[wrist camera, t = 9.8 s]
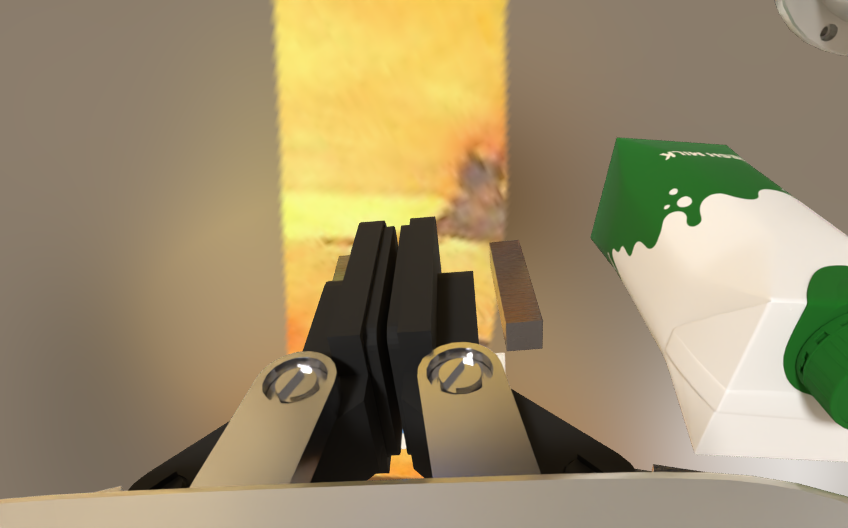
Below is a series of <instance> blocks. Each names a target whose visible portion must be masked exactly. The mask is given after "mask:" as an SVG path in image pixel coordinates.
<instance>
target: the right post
mask: <svg viewBox="0 0 848 528" xmlns="http://www.w3.org/2000/svg"><path fill="white" fill-rule="evenodd" d="M490 263H491V271H492V277H493V282H494V287H495V292H496V297H497V303H498V308H499V313H500V318H501V323H502V328H503V334H504V339H505V344H506V349H507V351H516V350H529V349H540V348H542V339H543V332H542V331H543V320H542V316H541V313H540V310H539V306H538V303H537V300H536V297H535V293H534V290H533V286H532V283H531V280H530V276H529V273H528V270H527V266H526V263H525V260H524V256H523V253H522V250H521V246H520V243H519V240H514V241H503V242H492V243H490Z"/></svg>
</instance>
